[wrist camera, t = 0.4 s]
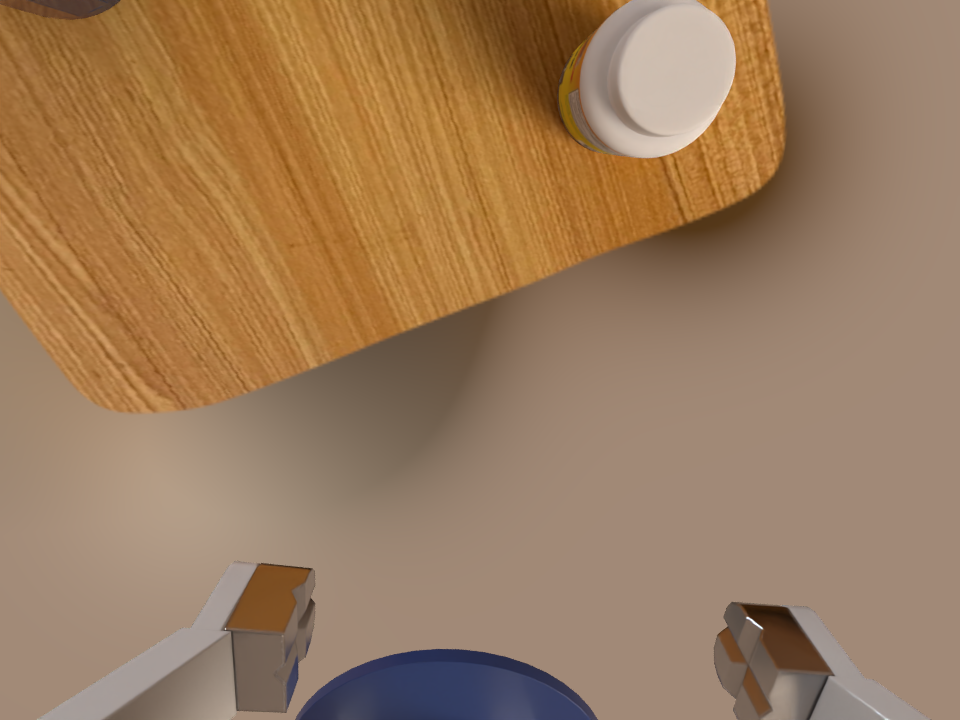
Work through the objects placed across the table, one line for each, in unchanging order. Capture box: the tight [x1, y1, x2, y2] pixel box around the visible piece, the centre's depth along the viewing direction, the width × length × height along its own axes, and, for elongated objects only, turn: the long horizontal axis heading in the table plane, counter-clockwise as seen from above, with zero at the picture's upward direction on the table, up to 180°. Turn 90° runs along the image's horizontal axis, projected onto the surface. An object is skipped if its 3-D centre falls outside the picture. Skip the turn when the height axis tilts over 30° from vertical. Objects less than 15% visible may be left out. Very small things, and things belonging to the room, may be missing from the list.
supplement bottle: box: [557, 0, 736, 158], centre depth 23 cm, size 6×6×10 cm
